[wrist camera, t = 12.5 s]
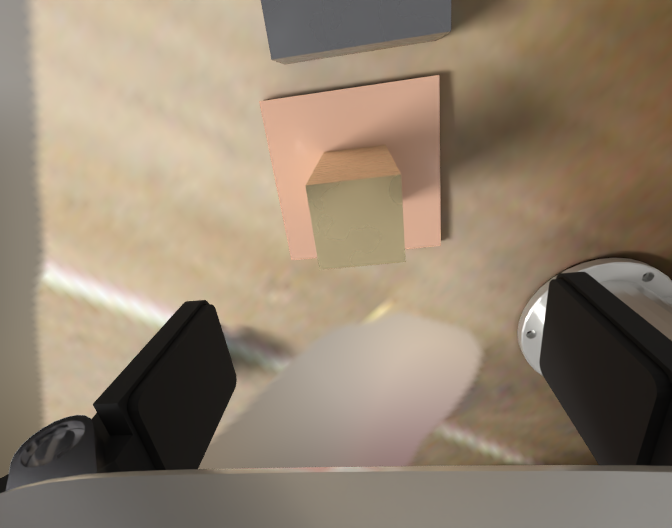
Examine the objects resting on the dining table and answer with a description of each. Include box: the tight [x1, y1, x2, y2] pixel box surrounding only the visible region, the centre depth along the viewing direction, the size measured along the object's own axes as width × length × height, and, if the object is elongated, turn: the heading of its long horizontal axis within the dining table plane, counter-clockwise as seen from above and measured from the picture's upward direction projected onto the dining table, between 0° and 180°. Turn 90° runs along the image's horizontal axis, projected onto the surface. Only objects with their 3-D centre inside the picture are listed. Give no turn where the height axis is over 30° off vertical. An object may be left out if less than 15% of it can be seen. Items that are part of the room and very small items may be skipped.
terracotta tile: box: [259, 75, 441, 260], centre depth 27 cm, size 12×12×1 cm
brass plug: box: [305, 144, 406, 270], centre depth 22 cm, size 4×4×10 cm
